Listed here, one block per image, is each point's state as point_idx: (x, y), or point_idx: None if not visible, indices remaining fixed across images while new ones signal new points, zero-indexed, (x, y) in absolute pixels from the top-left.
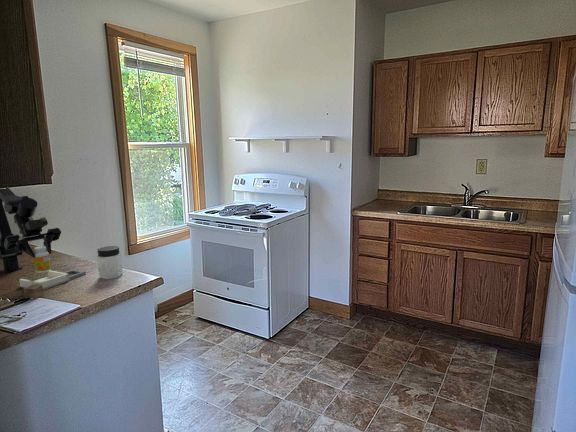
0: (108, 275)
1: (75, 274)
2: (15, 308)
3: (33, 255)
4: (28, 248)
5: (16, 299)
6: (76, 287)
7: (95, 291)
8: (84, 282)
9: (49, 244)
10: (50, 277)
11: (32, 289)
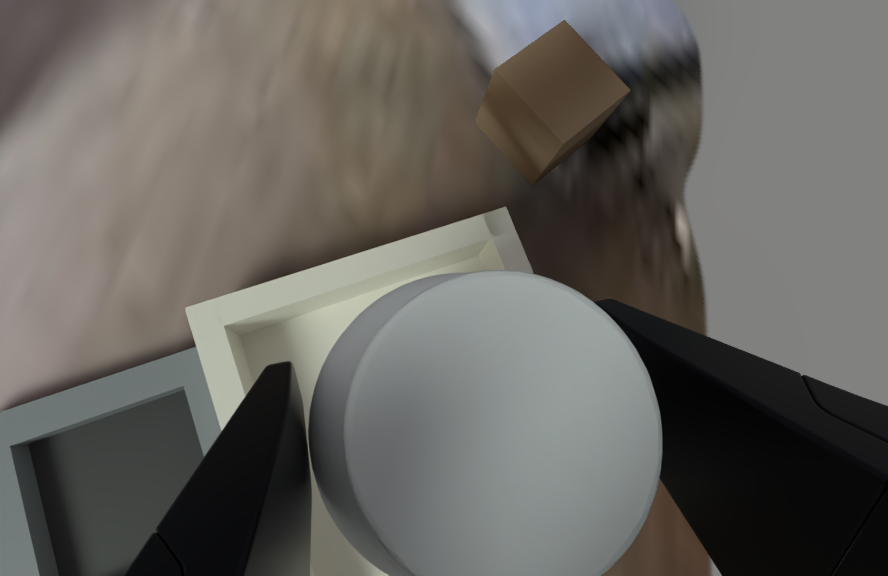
0: None
1: (99, 397)
2: (648, 12)
3: (619, 305)
4: (808, 383)
5: (637, 176)
6: (233, 86)
7: None
8: (127, 160)
9: (192, 535)
10: (327, 561)
11: (570, 34)
